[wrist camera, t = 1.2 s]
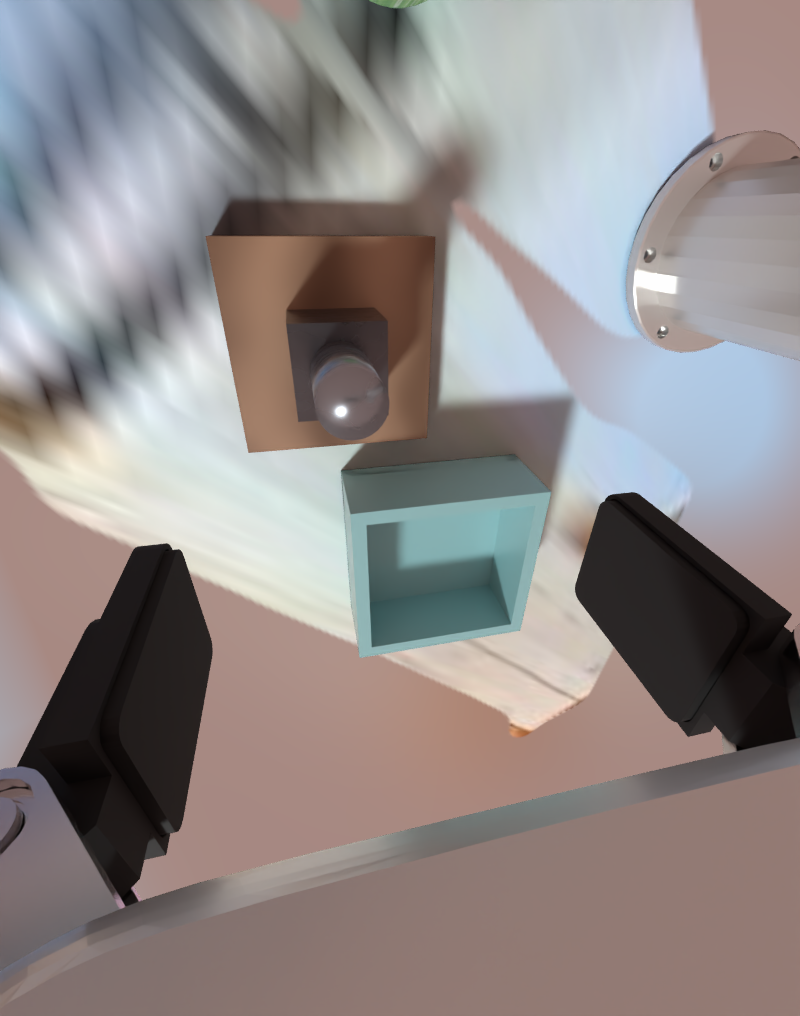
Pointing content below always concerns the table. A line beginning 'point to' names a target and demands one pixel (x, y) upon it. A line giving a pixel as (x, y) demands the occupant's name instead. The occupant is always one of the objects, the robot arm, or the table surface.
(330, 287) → the stud plate
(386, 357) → the square base knob
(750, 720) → the robot arm
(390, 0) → the ramekin
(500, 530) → the bin
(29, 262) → the table surface
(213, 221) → the table surface
